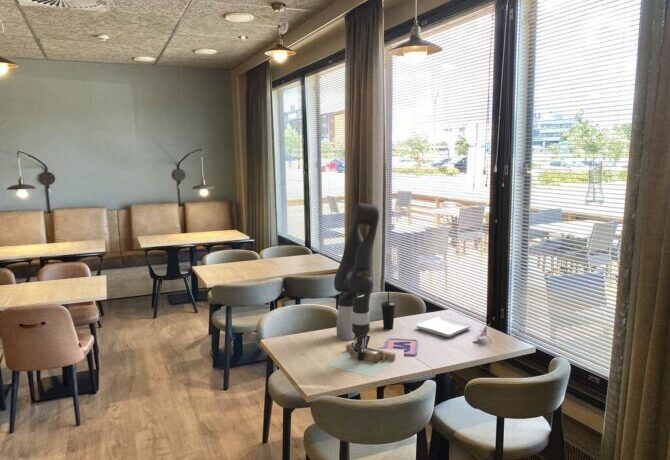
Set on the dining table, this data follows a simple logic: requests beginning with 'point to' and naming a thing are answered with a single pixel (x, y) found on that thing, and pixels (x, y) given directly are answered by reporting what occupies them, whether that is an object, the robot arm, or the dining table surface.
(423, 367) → the dining table surface
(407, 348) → the icon
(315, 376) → the dining table surface
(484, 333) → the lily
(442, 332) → the salad plate
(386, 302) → the drinking cup
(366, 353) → the frame
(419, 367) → the dining table surface
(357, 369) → the wall panel
